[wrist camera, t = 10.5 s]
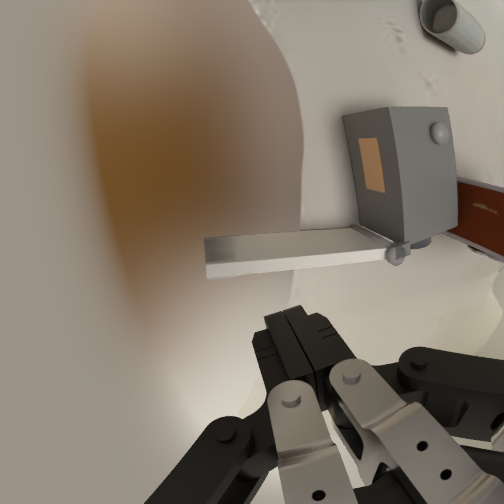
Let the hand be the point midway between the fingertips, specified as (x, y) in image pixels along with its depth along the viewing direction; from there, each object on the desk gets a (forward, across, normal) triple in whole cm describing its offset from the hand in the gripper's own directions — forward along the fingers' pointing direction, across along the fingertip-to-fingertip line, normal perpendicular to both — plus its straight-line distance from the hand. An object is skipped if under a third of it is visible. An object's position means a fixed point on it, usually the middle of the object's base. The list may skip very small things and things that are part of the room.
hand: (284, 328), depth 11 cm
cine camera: (+18, -32, +6) cm, 37 cm away
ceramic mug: (+18, -35, -23) cm, 46 cm away
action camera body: (+17, -16, -2) cm, 24 cm away
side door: (+17, -5, +3) cm, 18 cm away
